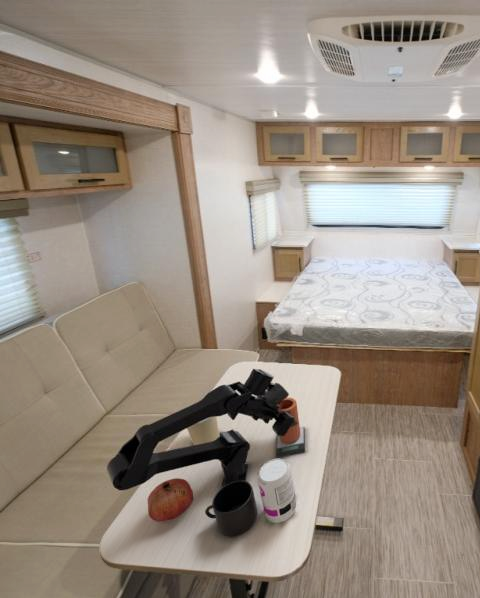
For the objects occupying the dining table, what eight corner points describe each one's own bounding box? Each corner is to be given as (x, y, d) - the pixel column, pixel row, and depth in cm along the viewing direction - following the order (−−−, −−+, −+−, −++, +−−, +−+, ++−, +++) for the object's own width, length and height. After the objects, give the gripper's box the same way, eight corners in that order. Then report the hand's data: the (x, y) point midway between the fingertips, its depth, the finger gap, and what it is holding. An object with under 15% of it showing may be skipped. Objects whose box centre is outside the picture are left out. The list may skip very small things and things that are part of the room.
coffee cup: (227, 430, 120) (220, 403, 116) (211, 451, 112) (203, 422, 107) (202, 428, 121) (194, 401, 117) (184, 449, 113) (175, 420, 108)
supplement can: (264, 528, 89) (255, 486, 83) (266, 500, 96) (258, 460, 90) (296, 520, 91) (289, 479, 85) (296, 493, 98) (290, 453, 92)
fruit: (204, 495, 97) (196, 469, 93) (182, 530, 88) (173, 503, 84) (167, 494, 98) (158, 468, 94) (142, 528, 88) (130, 501, 85)
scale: (305, 451, 112) (304, 447, 111) (276, 457, 110) (275, 452, 109) (304, 430, 121) (304, 425, 120) (278, 435, 119) (277, 430, 118)
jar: (287, 446, 110) (283, 414, 106) (275, 437, 114) (270, 405, 109) (304, 434, 115) (300, 402, 111) (292, 425, 119) (287, 395, 114)
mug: (214, 508, 94) (207, 484, 90) (260, 500, 96) (255, 477, 92) (203, 543, 85) (195, 518, 82) (254, 534, 87) (248, 509, 84)
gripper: (284, 396, 97) (320, 409, 109) (256, 370, 110) (291, 384, 121) (261, 432, 95) (300, 441, 106) (235, 401, 107) (273, 412, 119)
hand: (291, 418), depth 113 cm, fingers closed on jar, 7 cm apart
